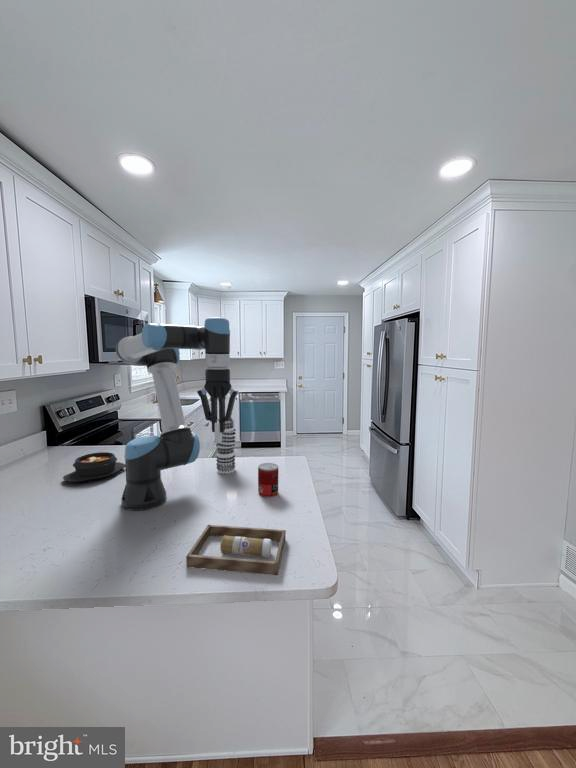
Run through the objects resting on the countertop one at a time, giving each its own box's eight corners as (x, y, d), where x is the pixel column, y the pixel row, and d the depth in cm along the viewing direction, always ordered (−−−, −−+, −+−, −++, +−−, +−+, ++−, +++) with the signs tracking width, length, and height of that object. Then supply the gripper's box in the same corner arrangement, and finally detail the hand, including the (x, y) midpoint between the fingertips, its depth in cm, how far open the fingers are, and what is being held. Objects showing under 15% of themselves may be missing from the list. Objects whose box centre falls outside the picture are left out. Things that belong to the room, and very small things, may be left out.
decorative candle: (237, 472, 151) (237, 418, 149) (217, 474, 148) (216, 420, 145) (233, 466, 160) (233, 415, 157) (214, 468, 156) (213, 416, 154)
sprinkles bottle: (221, 534, 90) (269, 539, 88) (226, 535, 94) (272, 539, 92) (218, 553, 88) (268, 558, 86) (223, 553, 92) (270, 557, 90)
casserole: (77, 490, 131) (75, 469, 130) (54, 480, 141) (53, 461, 140) (134, 471, 152) (134, 453, 151) (111, 463, 162) (111, 447, 161)
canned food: (275, 498, 125) (275, 470, 123) (255, 496, 126) (255, 468, 125) (280, 490, 132) (280, 463, 131) (261, 488, 134) (261, 462, 133)
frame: (186, 567, 84) (186, 556, 84) (208, 534, 100) (208, 524, 99) (277, 575, 82) (277, 563, 81) (285, 539, 97) (285, 530, 97)
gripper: (192, 368, 100) (194, 444, 102) (234, 369, 98) (235, 446, 101) (202, 367, 107) (203, 438, 110) (241, 368, 106) (241, 439, 108)
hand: (218, 442), depth 105 cm, fingers closed
